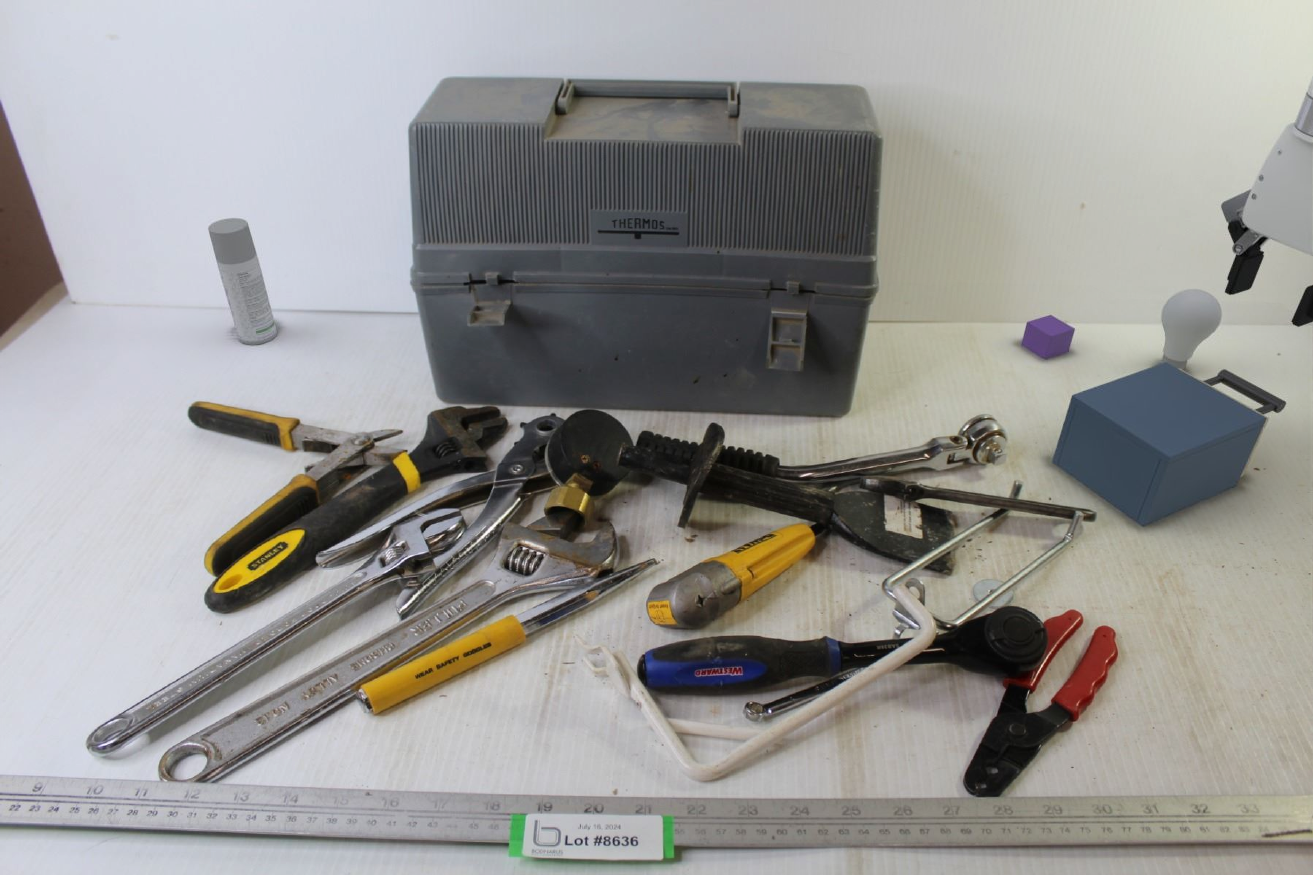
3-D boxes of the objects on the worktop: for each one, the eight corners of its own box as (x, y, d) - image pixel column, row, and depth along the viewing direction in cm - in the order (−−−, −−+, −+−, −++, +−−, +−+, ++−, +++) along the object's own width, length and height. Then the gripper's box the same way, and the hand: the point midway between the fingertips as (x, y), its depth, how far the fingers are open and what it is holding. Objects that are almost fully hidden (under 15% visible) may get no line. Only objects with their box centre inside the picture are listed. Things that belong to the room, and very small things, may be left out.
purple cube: (1043, 342, 123) (1050, 314, 120) (1067, 357, 120) (1075, 328, 117) (1019, 349, 121) (1026, 321, 119) (1043, 364, 118) (1051, 336, 116)
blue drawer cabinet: (1140, 432, 107) (1166, 361, 101) (1234, 491, 98) (1267, 417, 93) (1049, 467, 102) (1071, 394, 96) (1140, 532, 93) (1170, 457, 88)
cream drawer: (1193, 410, 109) (1215, 354, 104) (1279, 460, 101) (1306, 402, 97) (1075, 456, 102) (1094, 398, 97) (1158, 513, 94) (1182, 453, 90)
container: (231, 336, 123) (199, 226, 115) (264, 323, 126) (235, 214, 118) (251, 349, 121) (220, 237, 112) (284, 334, 124) (256, 224, 115)
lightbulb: (1204, 389, 114) (1237, 306, 107) (1149, 385, 114) (1178, 302, 108) (1189, 362, 119) (1220, 281, 112) (1136, 358, 119) (1164, 277, 113)
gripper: (1480, 144, 78) (1382, 337, 89) (1282, 88, 91) (1217, 263, 101) (1425, 160, 76) (1331, 357, 86) (1228, 99, 88) (1167, 278, 99)
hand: (1270, 305), depth 94 cm, fingers open, 6 cm apart
